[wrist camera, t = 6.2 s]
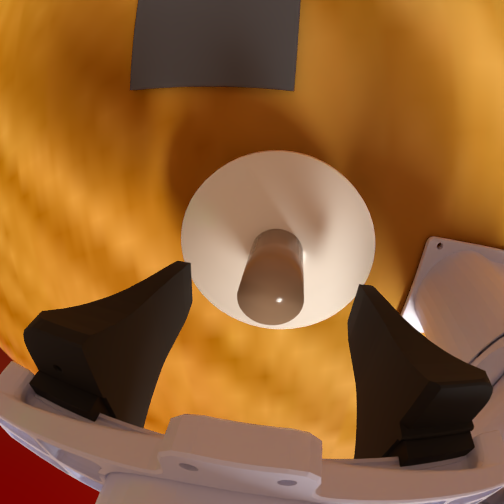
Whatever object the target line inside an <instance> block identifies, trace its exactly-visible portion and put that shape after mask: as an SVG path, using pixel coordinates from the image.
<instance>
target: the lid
mask: <svg viewBox="0 0 504 504" xmlns="http://www.w3.org/2000/svg"><path fill="white" fill-rule="evenodd" d="M181 246H182V252H183V257H184V261H185V262H189V263H191V278H192V280H193V281H194V283H195V285H196V286H197V288H198V289H199V290H200V291H201V293H202V294H203V295H204V296H205V297H206V298H207V299H208V300H209V301H210V302H211V303H212V304H213V305H214V306H216V307H217V308H218V309H220V310H221V311H223V312H224V313H226V314H227V315H229V316H231V317H233V318H235V319H237V320H239V321H242V322H244V323H247V324H250V325H254V326H258V327H263V328H270V329H292V328H299V327H305V326H308V325H312V324H315V323H318V322H320V321H322V320H325V319H327V318H329V317H330V316H332V315H334V314H336V313H337V312H339V311H340V310H341V309H343V308H344V307H345V306H346V305H347V304H348V303H350V302H351V301H352V300H353V298H354V297H355V296H356V293H357V289H358V286H359V284H362V285H364V283H365V282H366V280H367V278H368V275H369V273H370V271H371V267H372V264H373V261H374V254H375V232H374V226H373V222H372V219H371V216H370V213H369V210H368V208H367V206H366V204H365V202H364V200H363V199H362V197H361V196H360V194H359V193H358V191H357V190H356V189H355V187H354V186H353V185H352V184H351V183H350V182H349V180H348V179H347V178H346V177H345V176H344V175H342V174H341V173H340V172H339V171H338V170H336V169H335V168H334V167H332V166H330V165H329V164H327V163H325V162H324V161H322V160H319V159H317V158H315V157H313V156H310V155H306V154H303V153H299V152H294V151H287V150H267V151H260V152H254V153H251V154H247V155H244V156H241V157H239V158H237V159H235V160H232V161H230V162H229V163H227V164H225V165H224V166H222V167H221V168H219V169H218V170H217V171H216V172H214V173H213V174H212V175H211V176H210V177H209V178H208V179H206V180H205V181H204V183H203V184H202V185H201V186H200V187H199V188H198V190H197V191H196V193H195V194H194V196H193V197H192V199H191V201H190V203H189V205H188V207H187V210H186V212H185V216H184V220H183V224H182V232H181Z"/></svg>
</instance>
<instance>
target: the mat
mask: <svg viewBox="0 0 504 504" xmlns="http://www.w3.org/2000/svg"><path fill="white" fill-rule="evenodd" d="M299 16H300V0H138V7H137V14H136V22H135V31H134V40H133V51H132V64H131V81H130V90H141V89H153V88H170V87H248V88H265V89H278V90H288V91H294V84H295V72H296V59H297V45H298V31H299Z"/></svg>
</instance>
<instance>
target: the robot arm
mask: <svg viewBox="0 0 504 504" xmlns="http://www.w3.org/2000/svg"><path fill="white" fill-rule="evenodd" d="M439 243H441V245H440V246H439V247H437V245H438V244H439ZM191 304H192V280H191V263H189V262H182V261H176V262H174V263H172V264H171V265H169V266H167V267H166V268H164V269H162V270H160V271H159V272H157V273H155V274H154V275H152V276H150V277H148V278H147V279H145V280H143V281H141V282H139V283H137V284H135V285H134V286H132V287H130V288H128V289H126V290H123V291H121V292H119V293H116V294H114V295H112V296H109V297H106V298H103V299H100V300H97V301H94V302H91V303H87V304H83V305H79V306H74V307H69V308H64V309H56V310H48V311H42V312H41V313H40V314H39V315H38V316H37V317H36V318H35V319H34V320H33V321H32V322H31V323H30V324H29V325H28V327H27V328H26V329H25V330H24V334H23V335H24V341H25V344H26V347H27V349H28V351H29V353H30V355H31V357H32V359H33V360H34V362H35V364H36V366H37V368H38V370H39V371H38V372H37V373H36V375H34V374H33V373H32V372H31V371H29V370H28V369H26V368H24V367H23V366H21V365H19V364H17V363H15V362H13V361H11V363H10V364H9V365H8V366H7V367H6V369H5V370H4V371H3V372H2V374H1V375H0V425H1V426H2V427H3V429H5V431H6V432H7V433H8V434H9V435H10V436H11V437H12V438H14V439H15V440H17V441H18V442H19V443H21V444H22V445H24V446H25V447H27V448H28V449H29V450H31V451H32V452H34V453H35V454H37V455H38V456H40V457H41V458H43V459H44V460H46V461H47V462H49V463H50V464H52V465H54V466H55V467H57V468H59V469H60V470H62V471H63V472H65V473H67V474H68V475H70V476H72V477H74V478H75V479H77V480H79V481H81V482H82V483H84V484H86V485H88V486H90V487H92V488H94V489H96V490H98V491H100V494H99V496H98V499H97V501H96V504H504V250H502V249H498V248H493V247H488V246H483V245H478V244H473V243H468V242H462V241H457V240H452V239H446V238H441V237H435V236H432V237H430V238H429V239H428V240H427V242H426V245H425V248H424V251H423V255H422V258H421V261H420V264H419V267H418V270H417V273H416V275H415V278H414V281H413V284H412V287H411V289H410V292H409V295H408V297H407V300H406V302H405V305H404V307H403V310H402V312H401V315H400V314H399V313H398V312H397V311H396V310H395V309H394V308H393V307H392V305H391V304H390V303H389V302H388V301H387V300H386V299H385V298H384V297H383V296H382V295H381V294H380V293H379V292H378V291H377V290H376V289H375V288H374V287H373V286H371V285H362V284H359V286H358V289H357V293H356V296H355V300H354V303H353V306H352V309H351V313H350V316H349V319H348V341H349V347H350V353H351V359H352V364H353V370H354V376H355V382H356V392H357V429H356V445H355V455H354V459H322V441H321V440H320V439H318V438H317V437H315V436H314V435H312V434H311V433H309V432H305V431H301V430H296V429H291V428H281V427H272V426H264V425H256V424H249V423H243V422H236V421H230V420H225V419H219V418H214V417H209V416H204V415H194V414H184V415H180V416H177V417H174V418H171V420H170V422H169V425H168V428H167V430H166V433H165V435H164V434H160V433H157V432H154V431H150V430H147V429H144V424H145V419H146V416H147V412H148V409H149V405H150V402H151V398H152V395H153V392H154V389H155V386H156V383H157V380H158V377H159V375H160V372H161V369H162V366H163V364H164V362H165V359H166V357H167V355H168V353H169V351H170V350H171V348H172V346H173V344H174V342H175V340H176V338H177V336H178V334H179V332H180V330H181V329H182V327H183V325H184V323H185V321H186V318H187V316H188V313H189V310H190V307H191ZM420 332H424V333H425V335H426V337H425V336H423V335H422V334H421V333H420Z"/></svg>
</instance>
